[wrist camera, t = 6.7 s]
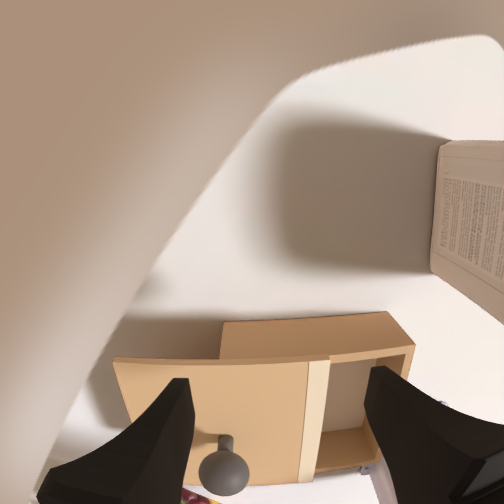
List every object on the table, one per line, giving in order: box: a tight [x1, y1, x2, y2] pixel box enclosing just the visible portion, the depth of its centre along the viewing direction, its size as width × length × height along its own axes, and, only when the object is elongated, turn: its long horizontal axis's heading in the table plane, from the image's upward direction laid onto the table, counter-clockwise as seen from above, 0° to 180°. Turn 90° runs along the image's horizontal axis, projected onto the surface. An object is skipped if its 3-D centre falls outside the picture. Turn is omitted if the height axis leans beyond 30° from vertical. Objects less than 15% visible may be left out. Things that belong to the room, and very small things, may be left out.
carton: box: [219, 312, 416, 473], centre depth 22 cm, size 12×12×5 cm
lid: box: [112, 354, 331, 496], centre depth 17 cm, size 12×12×5 cm
